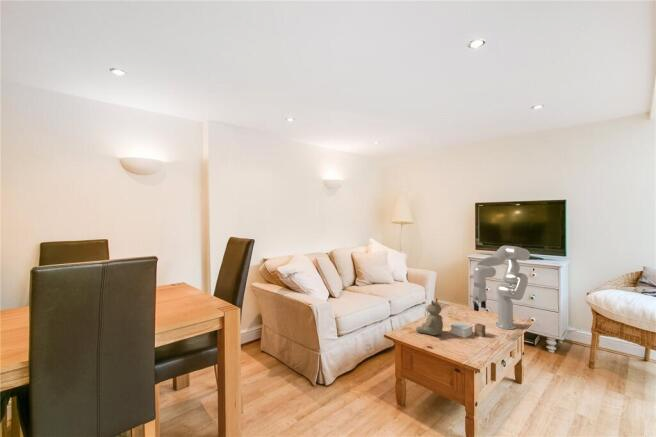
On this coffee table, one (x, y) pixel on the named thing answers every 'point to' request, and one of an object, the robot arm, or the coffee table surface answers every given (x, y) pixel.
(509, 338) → the coffee table surface
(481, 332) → the walnut block
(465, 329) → the pale grey box
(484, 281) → the robot arm
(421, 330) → the grey cat statue
